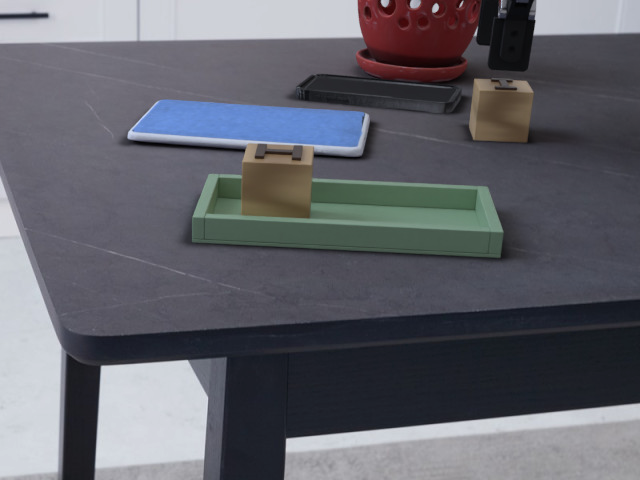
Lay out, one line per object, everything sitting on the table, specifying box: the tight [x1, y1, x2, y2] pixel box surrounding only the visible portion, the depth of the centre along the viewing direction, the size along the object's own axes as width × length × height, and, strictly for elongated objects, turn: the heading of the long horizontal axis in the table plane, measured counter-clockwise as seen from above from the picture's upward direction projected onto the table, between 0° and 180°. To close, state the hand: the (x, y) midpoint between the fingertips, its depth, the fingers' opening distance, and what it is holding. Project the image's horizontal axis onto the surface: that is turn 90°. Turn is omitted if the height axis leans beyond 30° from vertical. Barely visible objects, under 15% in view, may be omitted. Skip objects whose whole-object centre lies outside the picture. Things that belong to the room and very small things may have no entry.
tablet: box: [127, 98, 371, 158], centre depth 98 cm, size 19×13×1 cm, turn 81°
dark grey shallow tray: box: [295, 73, 463, 114], centre depth 111 cm, size 8×1×15 cm
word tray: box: [191, 173, 505, 259], centre depth 77 cm, size 20×10×2 cm, turn 85°
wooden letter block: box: [468, 77, 535, 143], centre depth 99 cm, size 4×4×5 cm
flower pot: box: [355, 0, 481, 84], centre depth 119 cm, size 13×13×12 cm
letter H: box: [241, 143, 315, 219], centre depth 77 cm, size 4×4×5 cm
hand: (500, 57), depth 97 cm, fingers open, 9 cm apart
